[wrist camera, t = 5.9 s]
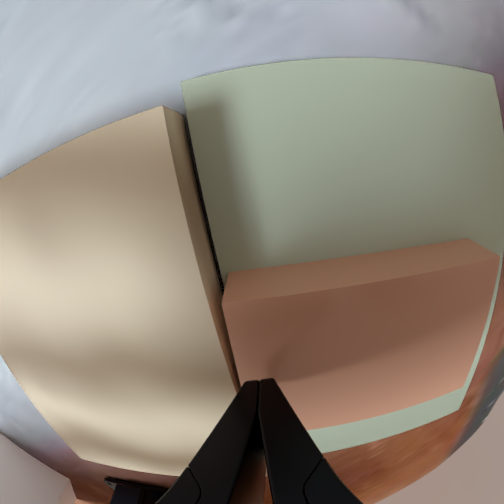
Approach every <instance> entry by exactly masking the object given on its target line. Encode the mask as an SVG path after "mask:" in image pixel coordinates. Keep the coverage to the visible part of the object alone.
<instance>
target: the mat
mask: <svg viewBox="0 0 504 504" xmlns="http://www.w3.org/2000/svg"><path fill="white" fill-rule="evenodd" d="M181 87H182V93H183V98H184V104H185V109H186V115H187V120H188V125H189V130H190V135H191V141H192V146H193V151H194V156H195V160H196V165H197V170H198V175H199V180H200V184H201V189H202V194H203V198H204V203H205V207H206V212H207V216H208V221H209V225H210V230H211V234H212V238H213V243H214V247H215V251H216V255H217V260H218V264H219V268H220V272H221V276H222V280H223V284H224V288H225V286H226V282H227V277H228V273H229V272H234V271H242V270H250V269H258V268H266V267H274V266H281V265H289V264H297V263H304V262H312V261H319V260H326V259H334V258H341V257H348V256H355V255H362V254H369V253H376V252H383V251H389V250H396V249H403V248H410V247H416V246H423V245H429V244H436V243H442V242H448V241H454V240H461V239H467V238H468V239H470V240H472V241H474V242H476V243H478V244H479V245H481V246H483V247H485V248H487V249H488V250H490V251H492V252H494V253H495V254H497V255H499V256H500V261H499V268H498V273H497V279H496V284H495V288H494V293H493V297H492V302H491V306H490V310H489V314H488V317H487V321H486V324H485V328H484V331H483V334H482V338H481V341H480V344H479V347H478V350H477V353H476V355H475V358H474V361H473V364H472V366H471V369H470V371H469V374H468V376H467V379H466V381H465V384H464V386H463V387H462V388H460V389H457V390H455V391H452V392H450V393H447V394H445V395H442V396H440V397H437V398H434V399H432V400H429V401H426V402H423V403H420V404H417V405H414V406H411V407H408V408H405V409H402V410H398V411H395V412H391V413H388V414H384V415H380V416H377V417H373V418H369V419H364V420H360V421H356V422H351V423H346V424H341V425H336V426H331V427H325V428H319V429H313V430H307V432H308V433H309V435H310V436H311V438H312V439H313V441H314V443H315V444H316V446H317V447H318V449H319V450H320V452H321V453H326V452H331V451H336V450H341V449H345V448H349V447H354V446H358V445H362V444H366V443H369V442H373V441H377V440H380V439H383V438H387V437H390V436H393V435H396V434H399V433H402V432H405V431H408V430H411V429H414V428H416V427H419V426H422V425H424V424H427V423H429V422H432V421H434V420H437V419H439V418H441V417H444V416H446V415H448V414H451V413H453V412H455V411H457V410H459V408H460V405H461V403H462V401H463V399H464V397H465V394H466V392H467V390H468V387H469V385H470V382H471V380H472V377H473V375H474V372H475V369H476V366H477V364H478V361H479V358H480V355H481V352H482V349H483V346H484V343H485V339H486V336H487V333H488V329H489V325H490V322H491V318H492V314H493V310H494V305H495V301H496V296H497V291H498V286H499V280H500V275H501V268H502V261H503V254H504V131H503V124H502V117H501V111H500V105H499V100H498V95H497V90H496V86H495V82H494V78H493V75H491V74H487V73H483V72H479V71H474V70H470V69H465V68H460V67H455V66H449V65H443V64H436V63H429V62H421V61H412V60H401V59H386V58H322V59H307V60H295V61H285V62H277V63H269V64H262V65H256V66H250V67H244V68H238V69H233V70H228V71H223V72H218V73H214V74H210V75H205V76H201V77H197V78H193V79H189V80H186V81H182V82H181Z"/></svg>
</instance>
